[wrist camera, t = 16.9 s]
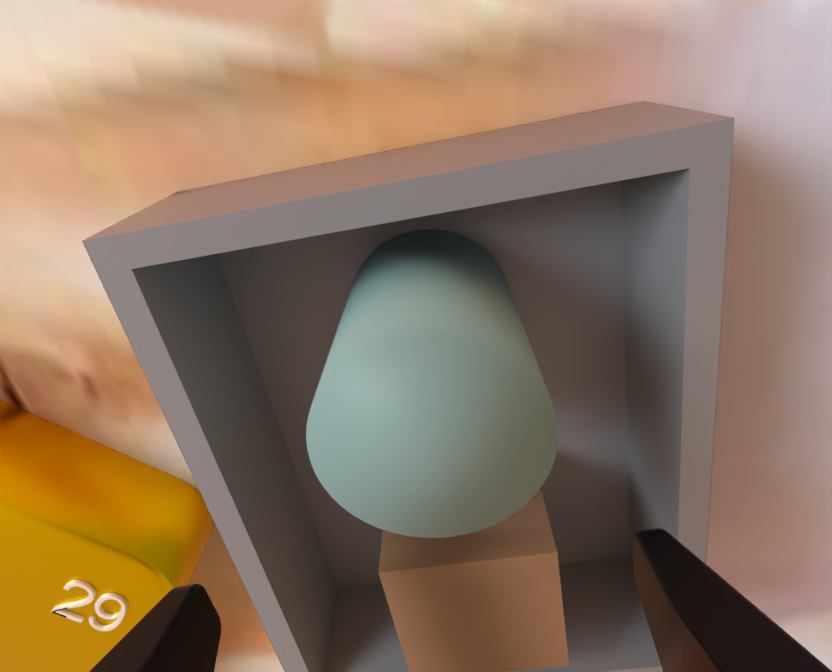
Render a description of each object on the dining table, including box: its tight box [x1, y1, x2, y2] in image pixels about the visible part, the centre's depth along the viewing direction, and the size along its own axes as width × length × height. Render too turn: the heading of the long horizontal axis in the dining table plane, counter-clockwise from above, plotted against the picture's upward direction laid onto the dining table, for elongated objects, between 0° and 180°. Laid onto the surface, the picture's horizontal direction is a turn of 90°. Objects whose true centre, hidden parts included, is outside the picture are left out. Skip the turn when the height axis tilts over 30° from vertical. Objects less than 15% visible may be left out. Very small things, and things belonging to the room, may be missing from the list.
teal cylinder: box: [306, 229, 558, 538], centre depth 14 cm, size 5×5×7 cm
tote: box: [82, 101, 734, 672], centre depth 17 cm, size 14×18×5 cm
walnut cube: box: [378, 488, 569, 672], centre depth 19 cm, size 5×5×5 cm
